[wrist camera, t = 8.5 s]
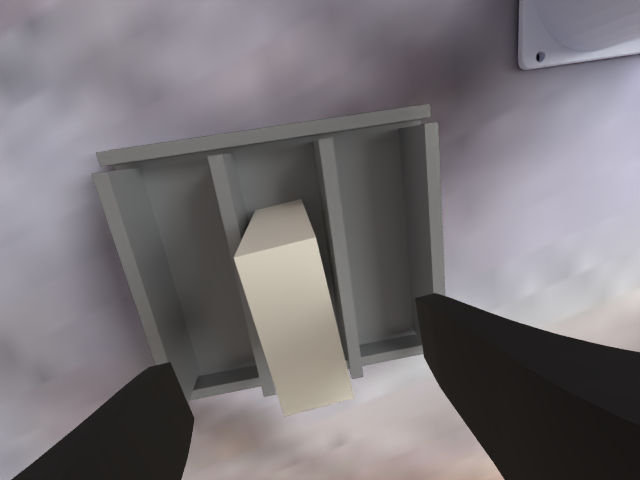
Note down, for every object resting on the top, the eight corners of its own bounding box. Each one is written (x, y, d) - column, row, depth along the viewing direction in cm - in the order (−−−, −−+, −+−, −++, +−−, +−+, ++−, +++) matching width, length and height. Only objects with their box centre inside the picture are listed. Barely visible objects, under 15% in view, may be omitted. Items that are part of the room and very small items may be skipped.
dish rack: (414, 106, 18) (450, 94, 14) (427, 333, 21) (459, 373, 18) (116, 150, 17) (66, 150, 13) (187, 380, 20) (165, 433, 17)
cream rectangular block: (301, 199, 17) (315, 237, 10) (325, 298, 19) (354, 397, 11) (255, 210, 17) (233, 257, 10) (283, 309, 19) (284, 416, 11)
